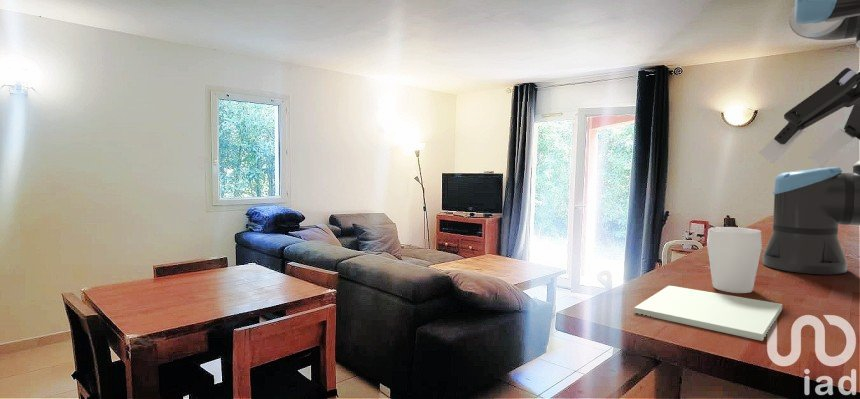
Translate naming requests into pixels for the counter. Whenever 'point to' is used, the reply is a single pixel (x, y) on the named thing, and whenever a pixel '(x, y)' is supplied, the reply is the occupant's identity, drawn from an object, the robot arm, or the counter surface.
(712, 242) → the cup
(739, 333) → the sage board
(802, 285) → the counter surface
